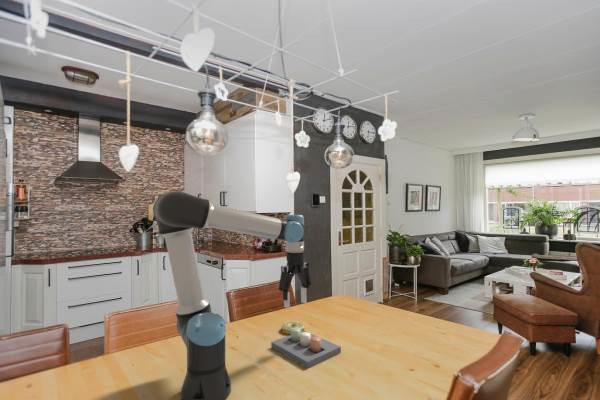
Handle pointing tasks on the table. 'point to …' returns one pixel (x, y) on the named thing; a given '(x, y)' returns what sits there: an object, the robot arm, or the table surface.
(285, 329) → the decorated donut
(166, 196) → the robot arm
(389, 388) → the table surface
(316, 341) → the terracotta button
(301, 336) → the white egg
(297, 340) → the sage button
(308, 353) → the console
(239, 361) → the table surface
